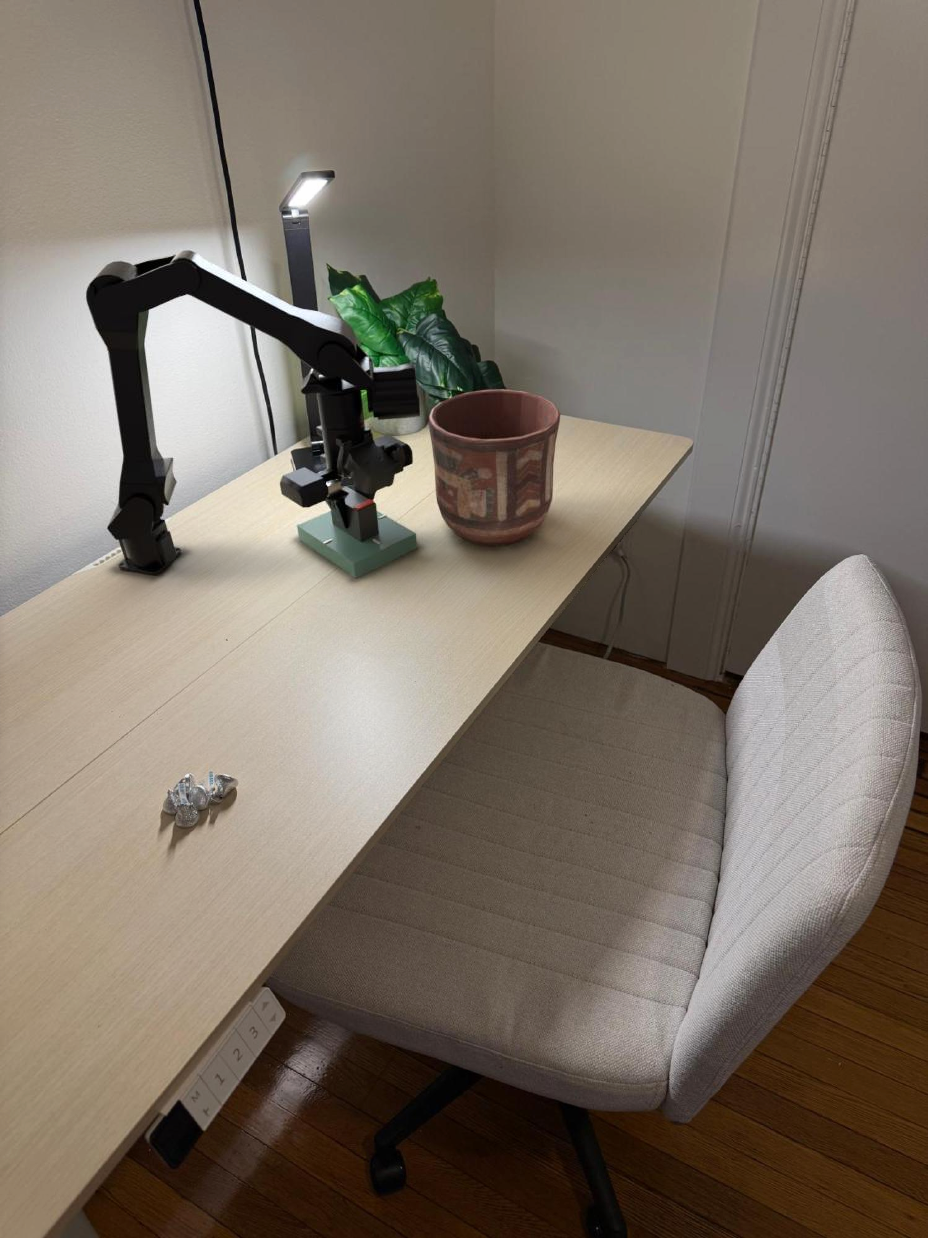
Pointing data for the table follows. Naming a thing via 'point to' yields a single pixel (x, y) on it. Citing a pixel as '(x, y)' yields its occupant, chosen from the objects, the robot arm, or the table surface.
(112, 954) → the table surface
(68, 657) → the table surface
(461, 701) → the table surface
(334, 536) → the green flat block
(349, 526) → the block
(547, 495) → the pottery
